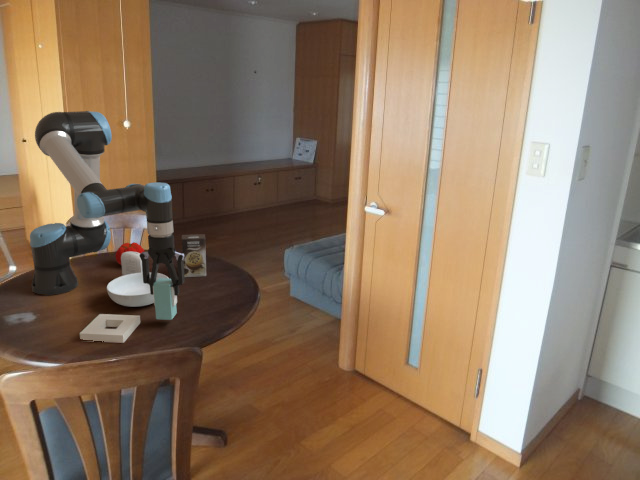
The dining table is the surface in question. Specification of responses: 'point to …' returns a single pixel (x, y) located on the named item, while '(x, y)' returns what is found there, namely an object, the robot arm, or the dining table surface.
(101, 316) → the white square frame
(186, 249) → the coffee box
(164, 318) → the teal square peg
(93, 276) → the dining table surface
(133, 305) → the serving bowl
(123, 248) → the tomato
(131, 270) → the photo printer
